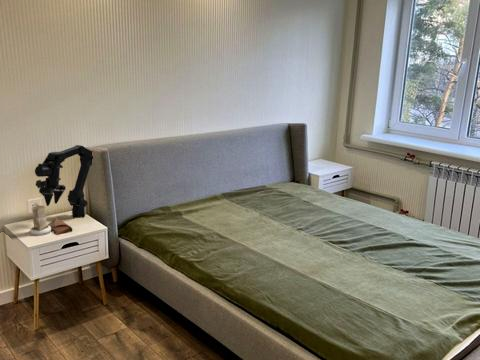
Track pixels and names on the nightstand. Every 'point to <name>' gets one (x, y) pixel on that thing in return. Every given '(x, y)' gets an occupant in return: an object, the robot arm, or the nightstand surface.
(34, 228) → the beige container
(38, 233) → the stand
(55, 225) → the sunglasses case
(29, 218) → the nightstand surface
